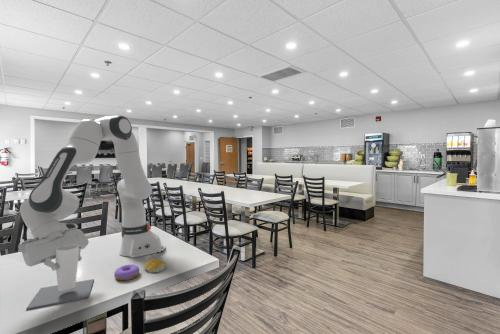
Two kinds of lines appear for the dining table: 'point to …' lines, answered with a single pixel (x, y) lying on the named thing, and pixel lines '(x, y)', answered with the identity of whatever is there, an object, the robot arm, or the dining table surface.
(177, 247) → the dining table surface
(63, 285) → the drinking glass
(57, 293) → the rubber mat
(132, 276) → the donut
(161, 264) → the bread roll
